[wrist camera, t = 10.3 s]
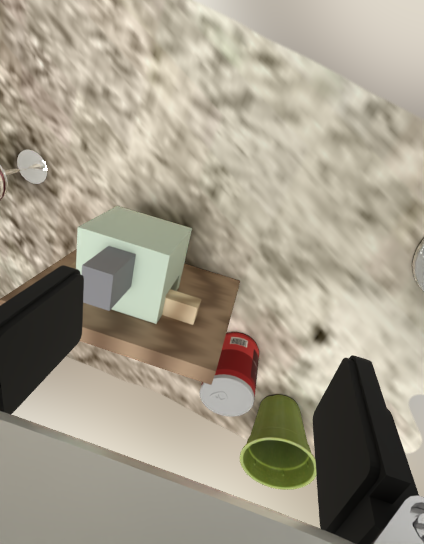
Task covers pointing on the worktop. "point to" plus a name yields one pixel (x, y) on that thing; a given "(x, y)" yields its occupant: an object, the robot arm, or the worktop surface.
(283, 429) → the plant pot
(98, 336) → the wall board
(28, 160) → the wineglass
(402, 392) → the worktop surface
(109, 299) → the mint green box
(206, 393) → the canned food
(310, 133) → the worktop surface
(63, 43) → the worktop surface
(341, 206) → the worktop surface
